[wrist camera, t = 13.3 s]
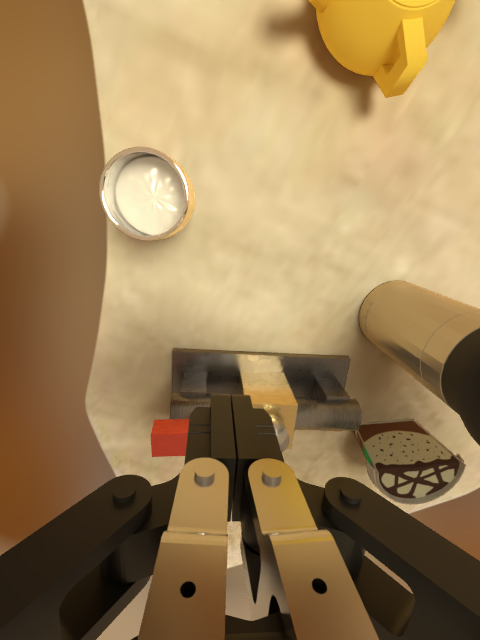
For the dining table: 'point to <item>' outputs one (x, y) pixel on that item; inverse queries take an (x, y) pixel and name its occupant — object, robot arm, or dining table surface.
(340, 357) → the valve pipe
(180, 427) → the valve lever
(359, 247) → the dining table surface
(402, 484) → the food container
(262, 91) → the dining table surface
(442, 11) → the teapot
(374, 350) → the dining table surface
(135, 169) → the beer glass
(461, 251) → the dining table surface
